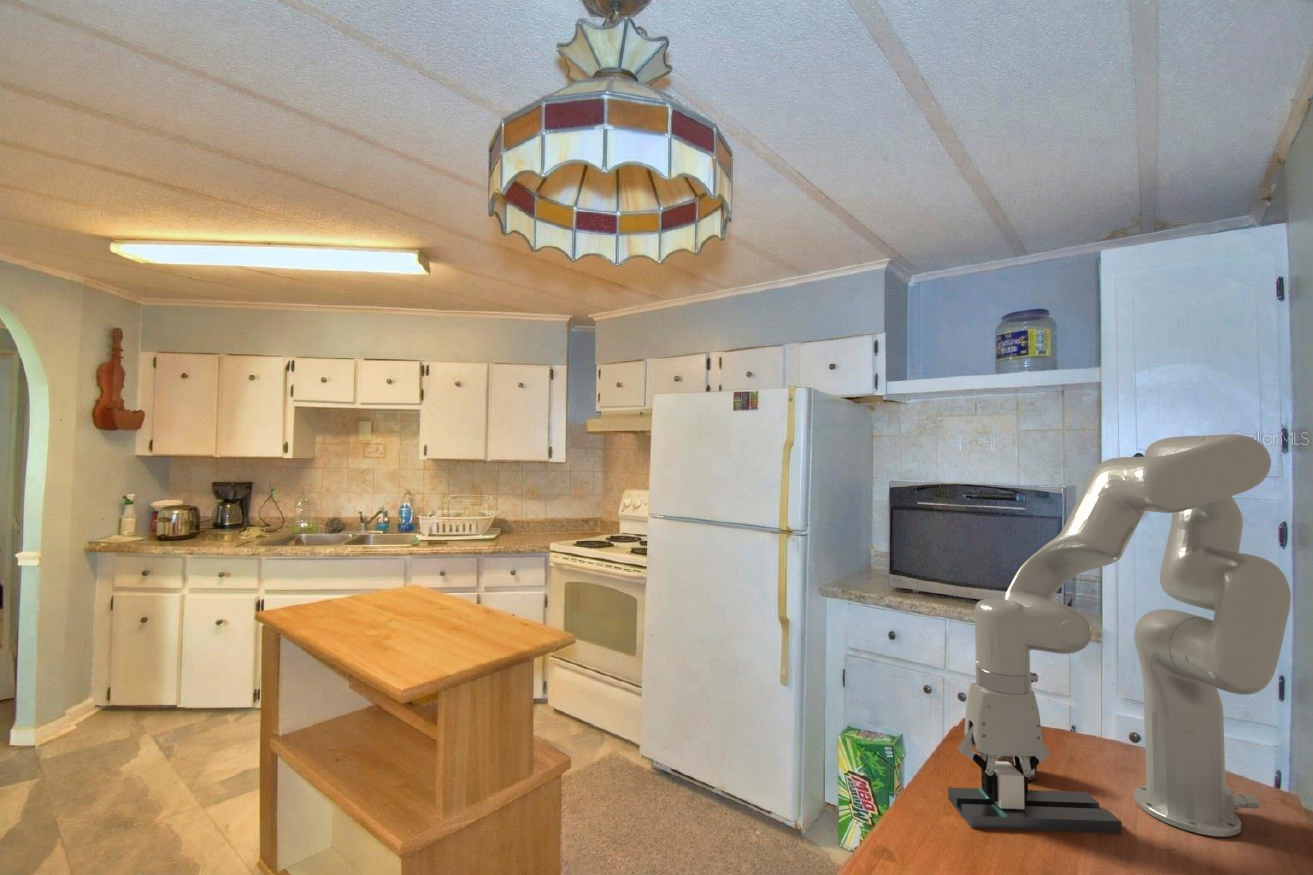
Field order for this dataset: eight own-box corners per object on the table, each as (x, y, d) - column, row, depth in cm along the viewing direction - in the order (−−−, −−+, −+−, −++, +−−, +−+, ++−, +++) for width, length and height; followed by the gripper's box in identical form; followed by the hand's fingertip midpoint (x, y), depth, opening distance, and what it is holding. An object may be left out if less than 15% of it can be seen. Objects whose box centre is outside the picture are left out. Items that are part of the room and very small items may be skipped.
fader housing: (1085, 803, 97) (1085, 791, 97) (1121, 833, 89) (1121, 820, 89) (948, 798, 98) (948, 786, 98) (971, 827, 90) (971, 815, 90)
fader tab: (1009, 800, 96) (1008, 761, 96) (1024, 816, 92) (1023, 775, 92) (986, 800, 96) (985, 760, 96) (1000, 816, 92) (999, 775, 92)
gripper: (1042, 672, 98) (1044, 786, 97) (939, 670, 99) (940, 783, 98) (1071, 689, 91) (1074, 813, 90) (960, 687, 91) (961, 809, 91)
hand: (1004, 796), depth 94 cm, fingers closed on fader tab, 3 cm apart
